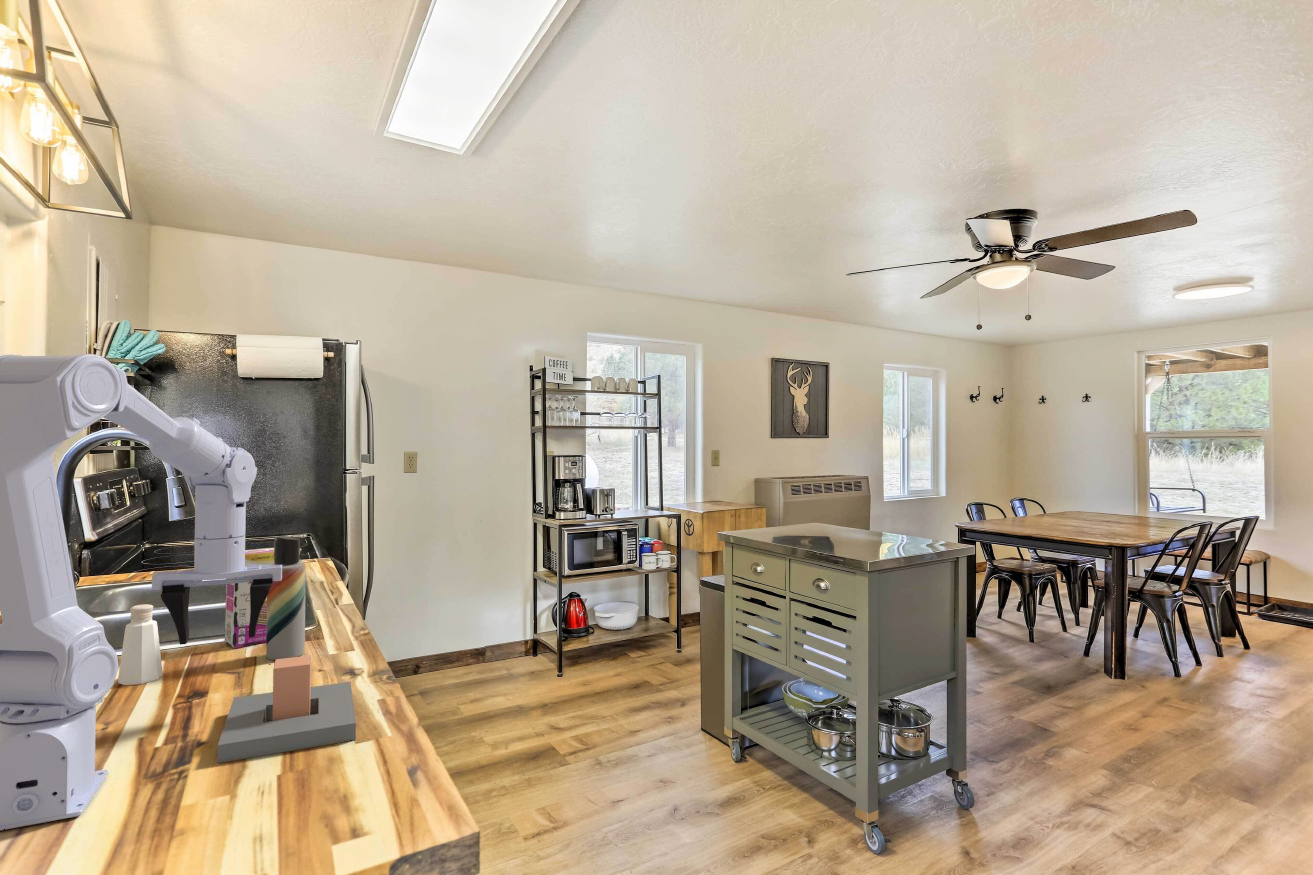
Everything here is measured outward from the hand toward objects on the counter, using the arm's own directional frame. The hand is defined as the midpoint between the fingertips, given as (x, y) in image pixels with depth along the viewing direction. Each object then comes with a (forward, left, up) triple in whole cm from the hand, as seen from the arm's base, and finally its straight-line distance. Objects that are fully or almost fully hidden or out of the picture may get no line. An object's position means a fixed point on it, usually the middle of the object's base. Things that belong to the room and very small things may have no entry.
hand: (218, 638), depth 91 cm
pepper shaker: (+19, +12, -10) cm, 24 cm away
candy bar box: (+35, -3, -10) cm, 36 cm away
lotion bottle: (+23, -7, -10) cm, 26 cm away
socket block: (-10, -9, -9) cm, 16 cm away
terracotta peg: (-10, -9, -9) cm, 16 cm away
